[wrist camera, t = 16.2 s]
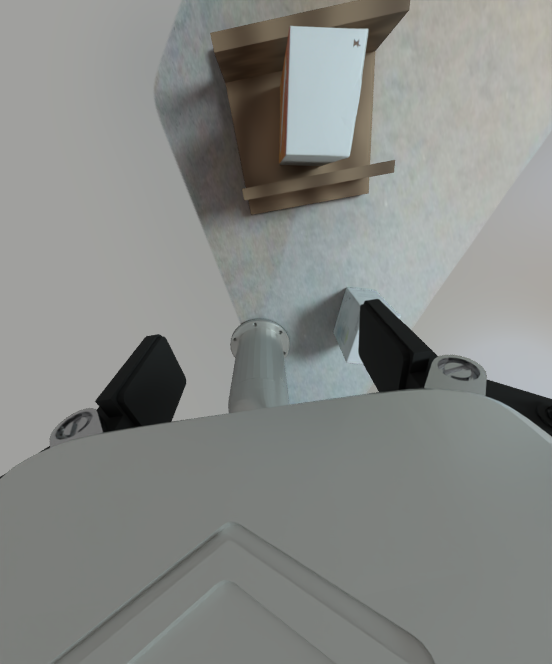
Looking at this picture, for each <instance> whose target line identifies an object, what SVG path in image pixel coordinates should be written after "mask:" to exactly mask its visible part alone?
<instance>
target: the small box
mask: <svg viewBox="0 0 552 664" xmlns="http://www.w3.org/2000/svg"><path fill="white" fill-rule="evenodd" d="M367 38H368V29H349V28H326V27H302V26H290V27H289V33H288V40H287V47H286V52H285V58H284V64H283V71H282V76H281V82H280V140H279V165H304V166H323V165H326V164H329V163H332V162H335V161H338V160H341V159H345V158H348V157H349V156H350V152H351V146H352V140H353V134H354V127H355V121H356V115H357V109H358V104H359V99H360V91H361V84H362V74H363V67H364V60H365V52H366V45H367Z"/></svg>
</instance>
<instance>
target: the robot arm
mask: <svg viewBox="0 0 552 664" xmlns="http://www.w3.org/2000/svg"><path fill="white" fill-rule="evenodd" d="M230 345H231V351H232V354H233V355H234V357H235V358H236V359H235V365H234V372H233V377H232V383H231V389H230V396H229V403H228V409H229V414H222V415H215V416H208V417H201V418H194V419H187V420H181V421H174V422H171V421H172V418H173V416H174V413H175V411H176V408H177V406H178V403H179V400H180V398H181V395H182V393H183V390H184V388H185V385H186V378H185V376H184V373H183V371H182V369H181V367H180V366H179V364H178V361H177V360H176V357H175V355H174V354H173V351H172V349H171V347H170V345H169V343H168V342H167V339H166V338H165V337H162V336H161V335H159V334H158V335H151V336H146V337H145V338H144V340H143V341H142V342H141V344H140V345H139V346H138V347H137V348H136V350H135V351H134V352H133V354H132V355H131V356H130V358H129V359H128V360H127V361H126V363H125V364H124V365H123V366H122V368H121V369H120V370H119V371H118V373H117V374H116V375H115V377H114V378H113V379H112V380H111V382H110V383H109V384H108V385H107V387H106V388H105V390H104V391H103V392H102V393H101V394H100V396H99V397H98V398H97V400H96V401H95V402H96V403H97V404H98V405H99V408H98V409H97V410H96V409H93V408H88V409H83V410H80V411H78V412H76V413H74V414H72V415H70V416H69V417H67V418H66V419H64V420H63V421H62V422H61V423H60V424H59V425H58V426H57V427H56V428H55V429H54V430H53V432H52V434H51V436H50V446H49V447H47V448H46V449H44V450H42V451H41V452H39V453H38V454H36V455H34V456H32V457H30V458H28V459H27V460H25V461H23V462H21V463H20V464H18V465H16V466H15V467H13V468H12V469H11V470H10V471H8V472H7V473H6V474H4V475H3V476H1V477H0V664H552V399H550V398H546V397H543V396H539V395H536V394H533V393H530V392H526V391H523V390H520V389H516V388H513V387H510V386H507V385H503V384H500V383H497V382H493V381H490V380H487V375H486V371H485V370H484V368H483V367H482V366H481V365H479V364H478V363H476V362H475V361H473V360H471V359H468V358H465V357H462V356H457V355H442V356H437V355H436V354H435V353H434V352H433V351H432V350H431V349H430V348H429V347H428V346H427V345H426V344H425V343H424V342H423V341H422V340H421V339H420V338H419V337H417V335H416V334H415V333H414V332H413V331H412V330H410V329H409V328H408V327H407V326H406V325H405V324H404V323H403V322H402V321H401V320H400V319H399V318H398V317H397V316H396V315H395V314H394V313H393V312H392V311H391V310H390V309H389V308H388V307H387V306H385V305H384V304H383V303H382V302H381V301H380V300H379V299H372V300H366V301H365V302H364V304H361V305H360V321H359V346H358V353H359V357H360V359H361V361H362V363H363V364H364V366H365V368H366V370H367V371H368V373H369V375H370V377H371V379H372V380H373V382H374V384H375V385H376V387H377V389H378V391H379V392H377V393H369V394H362V395H355V396H348V397H341V398H334V399H326V400H319V401H312V402H305V403H298V404H291V405H290V404H289V396H288V387H287V379H286V370H285V362H284V358H285V357H286V356H287V354H288V352H289V347H290V343H289V337H288V335H287V333H286V331H285V330H284V329H283V328H282V327H281V326H280V325H279V324H277V323H276V322H273V321H271V320H266V319H253V320H250V321H247V322H245V323H243V324H241V325H240V326H239V327H238V328H237V329H236V330H235V331H234V333H233V335H232V338H231V344H230Z"/></svg>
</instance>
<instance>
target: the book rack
mask: <svg viewBox="0 0 552 664" xmlns="http://www.w3.org/2000/svg"><path fill="white" fill-rule="evenodd" d="M409 6H410V0H357V1H352V2H348V3H343V4H339V5H334V6H330V7H325V8H321V9H316V10H312V11H307V12H303V13H298V14H294V15H289V16H285V17H280V18H276V19H271V20H267V21H262V22H258V23H253V24H249V25H244V26H240V27H235V28H231V29H226V30H222V31H217V32H213V33H210V34H211V39H212V44H213V49H214V53H215V56H216V59H217V61H218V64H219V67H220V69H221V72H222V75H223V78H224V80H225V83H226V88H227V93H228V99H229V104H230V109H231V114H232V119H233V124H234V129H235V134H236V140H237V145H238V150H239V155H240V160H241V165H242V170H243V176H244V181H245V186H246V188H244V189H242V192H243V196H244V200H248V201H249V206H250V211H251V215H253V214H258V213H264V212H269V211H275V210H280V209H286V208H291V207H296V206H302V205H307V204H313V203H318V202H324V201H329V200H335V199H340V198H345V197H351V196H356V195H362V194H367V193H369V177H372V176H377V175H383V174H388V173H393V172H394V166H395V160H392V161H387V162H381V163H376V164H371V165H370V151H371V130H372V109H373V87H374V66H375V51H376V50H377V48H378V47H379V46H380V45H381V43H382V42H383V41H384V40H385V39H386V37H387V36H388V35H389V34H390V33H391V31H392V30H393V29H394V28H395V26H396V25H397V24H398V23H399V22H400V20H401V19H402V18H403V17H404V16H405V14H406V13H407V12H408V11H409ZM290 26H302V27H326V28H349V29H368V38H367V45H366V52H365V60H364V67H363V74H362V84H361V91H360V99H359V104H358V109H357V115H356V121H355V127H354V134H353V140H352V146H351V152H350V156H349V157H348V158H345V159H341V160H338V161H335V162H332V163H329V164H326V165H323V166H304V165H279V140H280V82H281V76H282V71H283V64H284V58H285V52H286V47H287V40H288V33H289V27H290Z"/></svg>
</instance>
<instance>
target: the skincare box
mask: <svg viewBox="0 0 552 664" xmlns="http://www.w3.org/2000/svg"><path fill="white" fill-rule="evenodd" d="M372 299H379V300H380V301H381V302H382V303H383V304H384V305H385V306H387V307H388V308H389V309H390V310H391V311H392V312H393V313H394V314H395V315H396V316H397V317H398V318H399V319H400V318H401V315H400V314H399V313H398V312H397V311H395V310H394V308H393V307H392V306H391V305H390V304H389V303H388V302H387V301H386V300H385V299H384V298H383V297H382V296H381V295H380V294H379V293H378V292H377V291H376V290H367V289H358V288H346V291H345V294H344V297H343V301H342V304H341V307H340V311H339V314H338V318H337V321H336V324H335V328H334V331H333V333H334V335H335V337H336V340H337V342H338V344H339V347H340V349H341V351H342V353H343V356H344V358H345V360H346V363H351V364H363V363H362V361H361V359H360V357H359V353H358V346H359V321H360V305H361V304H364V302H365V301H366V300H372ZM363 365H364V364H363Z"/></svg>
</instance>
